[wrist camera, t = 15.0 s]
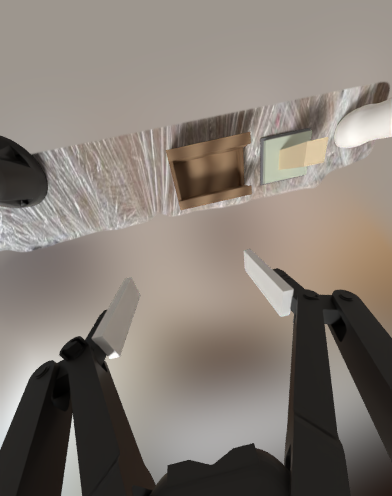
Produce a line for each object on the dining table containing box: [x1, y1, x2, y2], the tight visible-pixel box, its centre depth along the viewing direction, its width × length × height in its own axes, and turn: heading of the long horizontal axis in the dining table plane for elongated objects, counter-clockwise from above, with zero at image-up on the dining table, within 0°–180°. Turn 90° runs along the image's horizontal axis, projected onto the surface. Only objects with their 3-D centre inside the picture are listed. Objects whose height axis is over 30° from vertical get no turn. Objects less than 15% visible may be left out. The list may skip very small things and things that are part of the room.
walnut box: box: [166, 132, 252, 210], centre depth 34 cm, size 18×12×7 cm
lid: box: [263, 130, 328, 184], centre depth 33 cm, size 12×10×10 cm
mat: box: [260, 128, 311, 185], centre depth 38 cm, size 13×11×1 cm
